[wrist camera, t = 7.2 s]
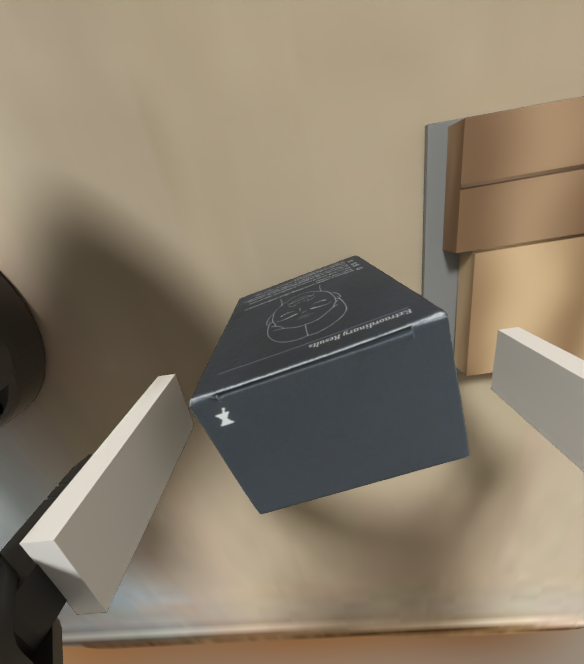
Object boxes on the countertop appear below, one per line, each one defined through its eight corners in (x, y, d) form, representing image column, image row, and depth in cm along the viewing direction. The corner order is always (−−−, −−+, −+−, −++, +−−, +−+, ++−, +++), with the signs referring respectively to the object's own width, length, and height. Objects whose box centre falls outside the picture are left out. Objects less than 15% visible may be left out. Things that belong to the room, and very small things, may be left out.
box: (272, 370, 20) (256, 521, 10) (238, 297, 18) (178, 400, 8) (381, 334, 19) (478, 463, 9) (359, 251, 17) (454, 308, 7)
